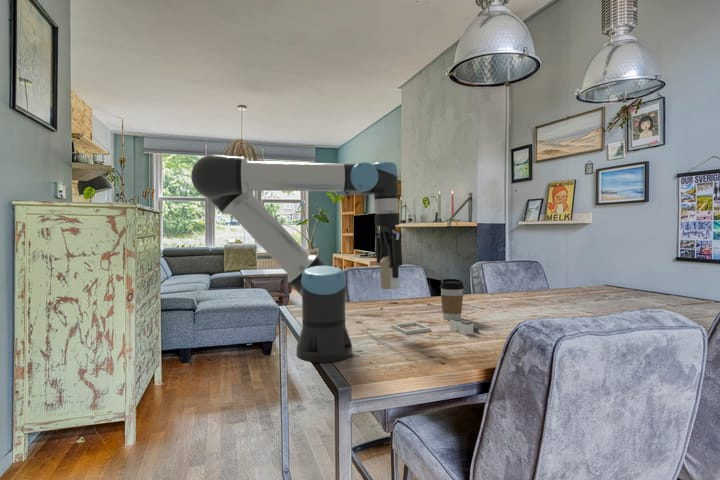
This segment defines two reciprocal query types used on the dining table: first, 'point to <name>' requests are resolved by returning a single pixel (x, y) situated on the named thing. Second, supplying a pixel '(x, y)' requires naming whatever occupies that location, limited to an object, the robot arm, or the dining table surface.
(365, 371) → the dining table surface
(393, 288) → the robot arm
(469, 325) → the knob
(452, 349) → the dining table surface
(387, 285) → the beige bottle
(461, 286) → the coffee cup
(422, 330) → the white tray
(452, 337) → the dining table surface
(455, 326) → the knob
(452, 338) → the dining table surface
